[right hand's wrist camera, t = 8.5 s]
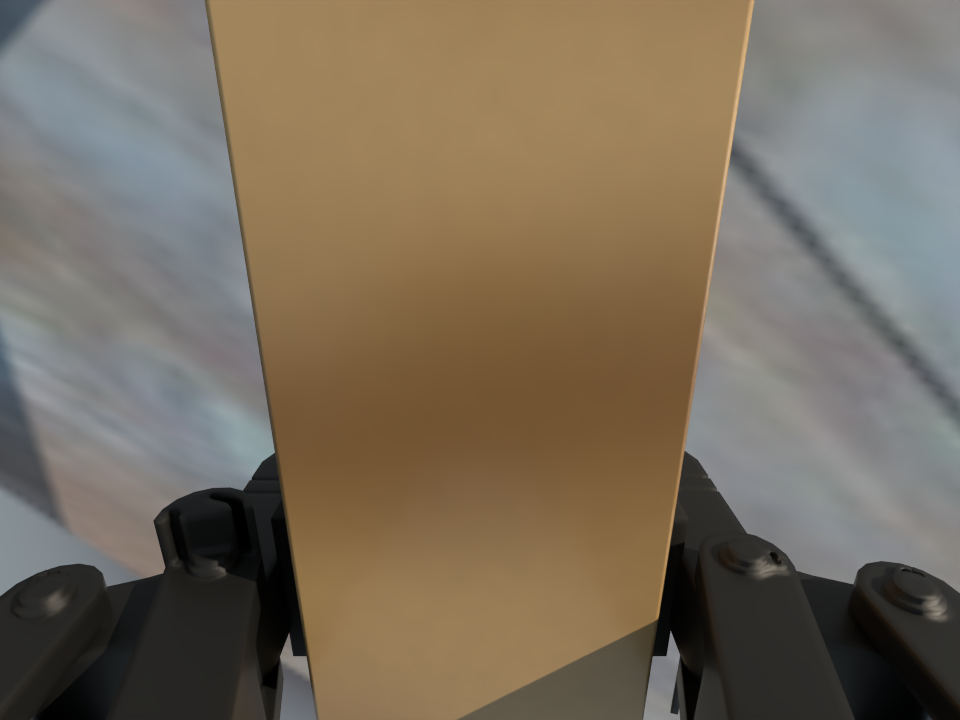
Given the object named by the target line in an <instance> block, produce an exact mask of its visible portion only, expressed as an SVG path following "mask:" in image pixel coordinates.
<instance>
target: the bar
mask: <svg viewBox="0 0 960 720" xmlns="http://www.w3.org/2000/svg"><path fill="white" fill-rule="evenodd" d="M205 5H206V11H207V18H208V24H209V31H210V37H211V44H212V50H213V56H214V63H215V69H216V76H217V82H218V89H219V95H220V102H221V108H222V114H223V121H224V127H225V134H226V140H227V147H228V153H229V159H230V166H231V172H232V179H233V185H234V192H235V198H236V204H237V211H238V217H239V224H240V230H241V237H242V243H243V250H244V256H245V262H246V269H247V275H248V282H249V288H250V295H251V301H252V307H253V314H254V320H255V327H256V333H257V340H258V346H259V352H260V359H261V365H262V372H263V378H264V385H265V391H266V398H267V404H268V410H269V417H270V423H271V430H272V436H273V443H274V449H275V455H276V462H277V468H278V475H279V481H280V488H281V494H282V500H283V507H284V513H285V520H286V526H287V533H288V539H289V546H290V552H291V558H292V565H293V571H294V578H295V584H296V591H297V597H298V603H299V610H300V616H301V623H302V629H303V636H304V642H305V648H306V655H307V661H308V668H309V674H310V681H311V687H312V693H313V700H314V706H315V713H316V719H317V720H643V715H644V709H645V702H646V696H647V689H648V683H649V676H650V670H651V663H652V657H653V651H654V644H655V638H656V631H657V625H658V618H659V612H660V605H661V599H662V592H663V586H664V580H665V573H666V567H667V560H668V554H669V547H670V541H671V534H672V528H673V521H674V515H675V508H676V502H677V496H678V489H679V483H680V476H681V470H682V463H683V457H684V450H685V444H686V437H687V431H688V425H689V418H690V412H691V405H692V399H693V392H694V386H695V379H696V373H697V366H698V360H699V354H700V347H701V341H702V334H703V328H704V321H705V315H706V308H707V302H708V295H709V289H710V282H711V276H712V270H713V263H714V257H715V250H716V244H717V237H718V231H719V224H720V218H721V211H722V205H723V199H724V192H725V186H726V179H727V173H728V166H729V160H730V153H731V147H732V140H733V134H734V128H735V121H736V115H737V108H738V102H739V95H740V89H741V82H742V76H743V69H744V63H745V56H746V50H747V44H748V37H749V31H750V24H751V18H752V11H753V5H754V0H205Z"/></svg>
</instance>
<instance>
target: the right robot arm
mask: <svg viewBox="0 0 960 720" xmlns="http://www.w3.org/2000/svg"><path fill="white" fill-rule="evenodd" d="M154 525H155V529H156V532H157V536H158V540H159V544H160V548H161V552H162V556H163V559H164V563H165V567H166V568H165V570H164V573H163V574H159V575H156V576H152V577H149V578H145V579H140V580H136V581H131V582H127V583H122V584H118V585H113V586H109V587H107V586H106V583H105V580H104V577H103V574H102V573H101V572H100V571H99V570H98V569H97V568H96V567H94V566H90V565H84V564H73V565H64V566H59V567H55V568H52V569H49V570H45V571H42V572H40V573H37V574H35V575H33V576H31V577H29V578H27V579H25V580H23V581H21V582H19V583H17V584H16V585H15V586H13V587H12V588H11V589H9V590H8V591H7V592H5V593H4V594H3V595H1V596H0V720H280V711H281V701H282V690H283V680H284V679H283V672H282V666H281V660H280V655H281V652H282V650H283V647H284V644H285V642H286V639H287V637H288V634H289V633H290V639H291V645H292V651H293V656H307V655H306V648H305V642H304V636H303V629H302V623H301V616H300V610H299V603H298V597H297V591H296V584H295V578H294V571H293V565H292V558H291V552H290V546H289V539H288V533H287V526H286V520H285V513H284V507H283V500H282V494H281V488H280V481H279V475H278V468H277V462H276V455H275V453H274V454H273V455H271V456H270V457H268V458H267V459H266V460H264V461H263V462H262V463H261V465H260V466H259V468H258V469H257V471H256V472H255V474H254V475H253V477H252V480H250V481H249V482H248V484H247V485H246V487H245V488H244V490H243V491H242V490H238V489H234V488H211V489H206V490H202V491H197V492H194V493H191V494H189V495H187V496H184V497H182V498H179V499H177V500H176V501H174V502H173V503H171V504H170V505H168V506H167V507H165V508H164V509H162V511H161V512H160V513H159V514H158V516H157V517H156V518H155V520H154ZM670 631H671V632H672V635H673V637H674V640H675V642H676V645H677V648H678V650H679V653H680V660H679V666H678V671H677V677H676V683H675V688H674V694H673V699H672V706H671V712H670V713H673V714H678V710H680V720H960V593H958V592H957V591H956V590H954V589H953V588H952V587H951V586H949V585H948V584H947V583H945V582H944V581H942V580H940V579H938V578H936V577H934V576H932V575H930V574H928V573H926V572H924V571H922V570H919V569H917V568H914V567H910V566H907V565H904V564H900V563H892V562H883V561H880V562H874V563H868V564H865V565H864V566H863V567H862V568H861V569H859V570H858V572H857V575H856V579H855V582H854V585H853V584H849V583H844V582H839V581H835V580H830V579H826V578H821V577H817V576H812V575H809V574H805V573H802V572H798V571H796V569H795V567H794V565H793V564H792V562H791V561H790V559H789V558H788V556H787V555H786V554H785V553H784V552H782V551H781V550H780V549H779V548H777V547H776V546H775V545H773V544H772V543H770V542H768V541H766V540H764V539H761V538H759V537H757V536H755V535H751V534H747V533H746V531H745V530H744V528H743V527H742V525H741V524H740V522H739V521H738V519H737V518H736V516H735V515H734V513H733V512H732V510H731V509H730V507H729V506H728V504H727V503H726V501H725V500H724V498H723V497H722V496H721V494H720V493H719V492H717V488H716V487H715V485H714V484H713V482H712V481H711V479H708V475H707V473H706V472H705V470H704V469H703V467H702V466H701V464H700V463H699V461H698V460H697V459H695V458H694V457H693V456H691V455H690V454H688V453H687V452H686V451H684V457H683V463H682V470H681V476H680V483H679V489H678V496H677V502H676V508H675V515H674V521H673V528H672V534H671V541H670V547H669V554H668V560H667V567H666V573H665V580H664V586H663V592H662V599H661V605H660V612H659V618H658V625H657V631H656V638H655V644H654V651H653V656H666V655H667V649H668V643H669V637H670Z"/></svg>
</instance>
